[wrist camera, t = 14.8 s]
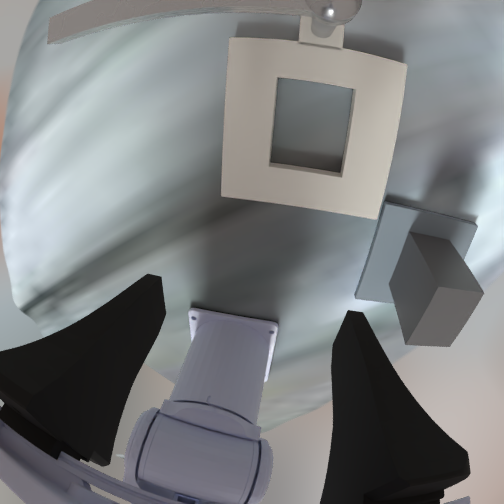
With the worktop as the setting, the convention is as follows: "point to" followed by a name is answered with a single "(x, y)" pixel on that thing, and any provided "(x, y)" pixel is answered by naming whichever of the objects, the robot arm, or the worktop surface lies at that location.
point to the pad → (392, 241)
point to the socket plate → (263, 113)
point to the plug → (432, 291)
